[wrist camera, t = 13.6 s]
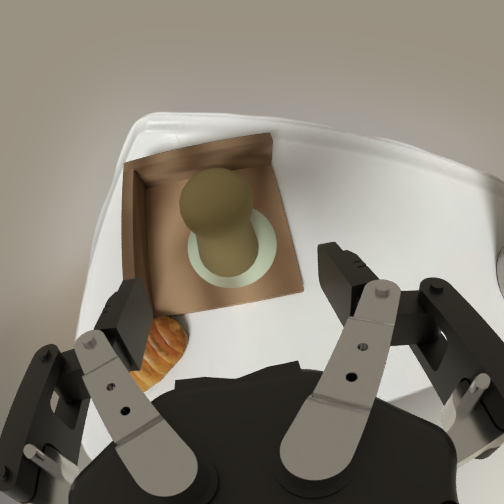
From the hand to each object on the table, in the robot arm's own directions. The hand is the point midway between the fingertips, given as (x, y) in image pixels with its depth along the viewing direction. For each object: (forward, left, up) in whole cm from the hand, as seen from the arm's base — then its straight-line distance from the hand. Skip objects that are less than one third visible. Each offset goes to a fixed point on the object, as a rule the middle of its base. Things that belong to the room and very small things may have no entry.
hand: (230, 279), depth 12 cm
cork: (0, -7, -15) cm, 16 cm away
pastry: (+11, +2, -16) cm, 20 cm away
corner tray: (+2, -9, -16) cm, 18 cm away
